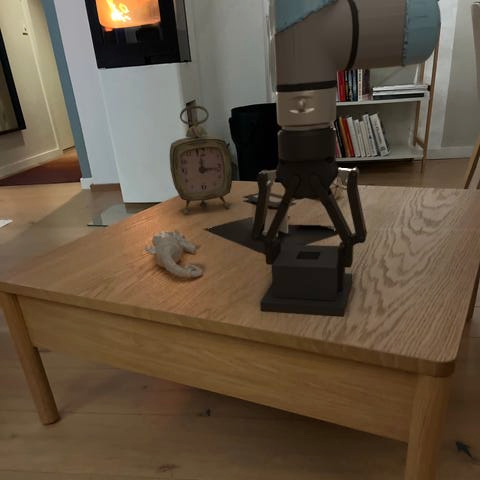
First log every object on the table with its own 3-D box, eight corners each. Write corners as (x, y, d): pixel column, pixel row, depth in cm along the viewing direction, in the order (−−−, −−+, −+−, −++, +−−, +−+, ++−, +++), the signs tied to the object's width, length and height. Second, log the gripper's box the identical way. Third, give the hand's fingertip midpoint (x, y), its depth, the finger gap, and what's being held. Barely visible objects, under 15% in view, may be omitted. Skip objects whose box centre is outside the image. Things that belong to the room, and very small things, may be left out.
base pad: (352, 282, 76) (353, 249, 74) (343, 316, 66) (344, 280, 64) (279, 278, 80) (277, 247, 77) (260, 311, 70) (258, 276, 67)
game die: (320, 215, 124) (308, 181, 125) (352, 202, 122) (339, 167, 123) (315, 207, 116) (301, 170, 117) (349, 192, 113) (335, 155, 114)
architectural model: (272, 211, 118) (270, 170, 113) (344, 232, 99) (345, 184, 94) (203, 229, 109) (198, 185, 104) (268, 255, 90) (266, 204, 85)
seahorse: (228, 265, 84) (185, 224, 98) (169, 259, 78) (132, 217, 92) (220, 291, 86) (179, 247, 101) (161, 287, 80) (127, 241, 94)
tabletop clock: (179, 217, 119) (164, 109, 108) (175, 209, 127) (160, 107, 116) (235, 209, 122) (226, 103, 110) (228, 202, 130) (218, 101, 118)
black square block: (342, 276, 75) (343, 245, 72) (334, 300, 67) (335, 267, 65) (286, 273, 77) (285, 244, 75) (273, 297, 70) (271, 265, 67)
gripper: (218, 134, 62) (233, 291, 72) (393, 125, 55) (382, 299, 66) (236, 126, 68) (247, 272, 78) (394, 118, 61) (384, 278, 72)
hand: (308, 285), depth 72 cm, fingers closed on black square block, 9 cm apart
